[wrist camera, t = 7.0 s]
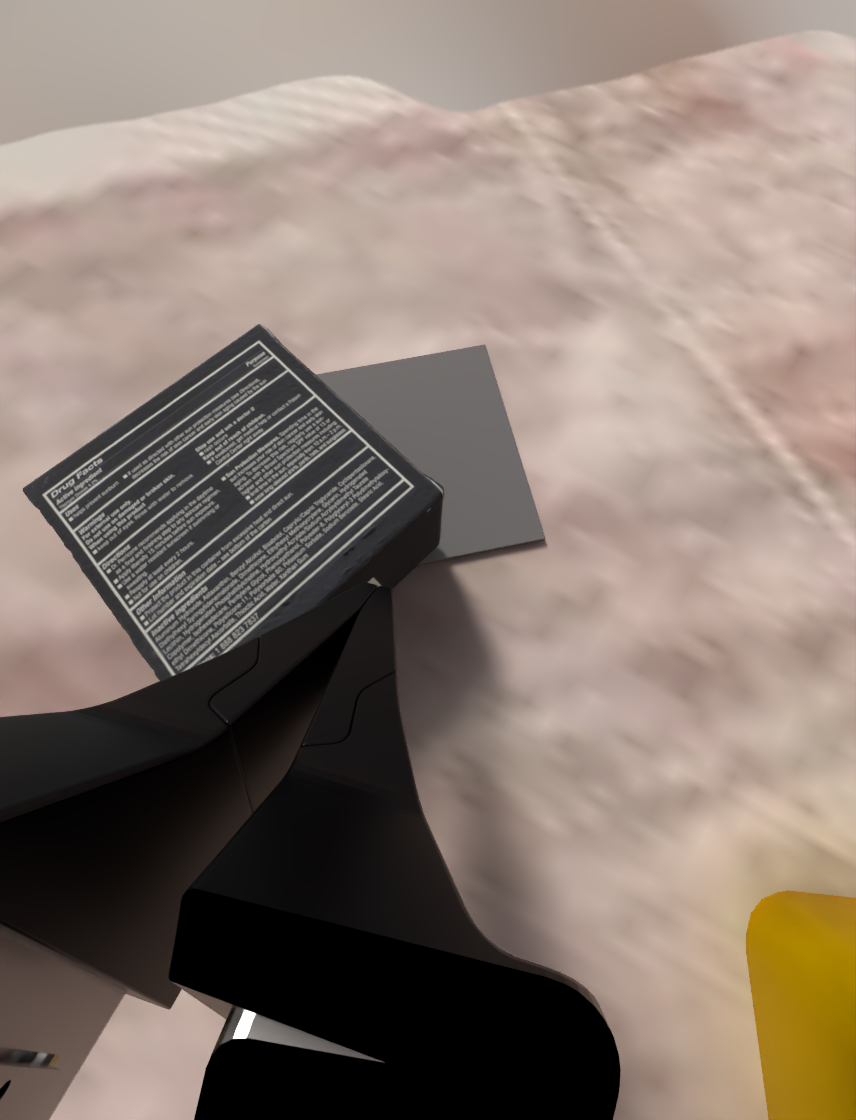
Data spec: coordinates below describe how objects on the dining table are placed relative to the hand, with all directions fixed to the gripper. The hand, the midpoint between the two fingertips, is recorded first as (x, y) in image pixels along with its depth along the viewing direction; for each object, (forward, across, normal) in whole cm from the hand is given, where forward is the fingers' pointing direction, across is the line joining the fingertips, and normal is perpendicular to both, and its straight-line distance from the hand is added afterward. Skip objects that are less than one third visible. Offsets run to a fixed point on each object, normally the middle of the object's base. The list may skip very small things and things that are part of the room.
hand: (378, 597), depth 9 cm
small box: (+2, +1, +3) cm, 4 cm away
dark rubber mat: (+11, +4, -1) cm, 11 cm away
